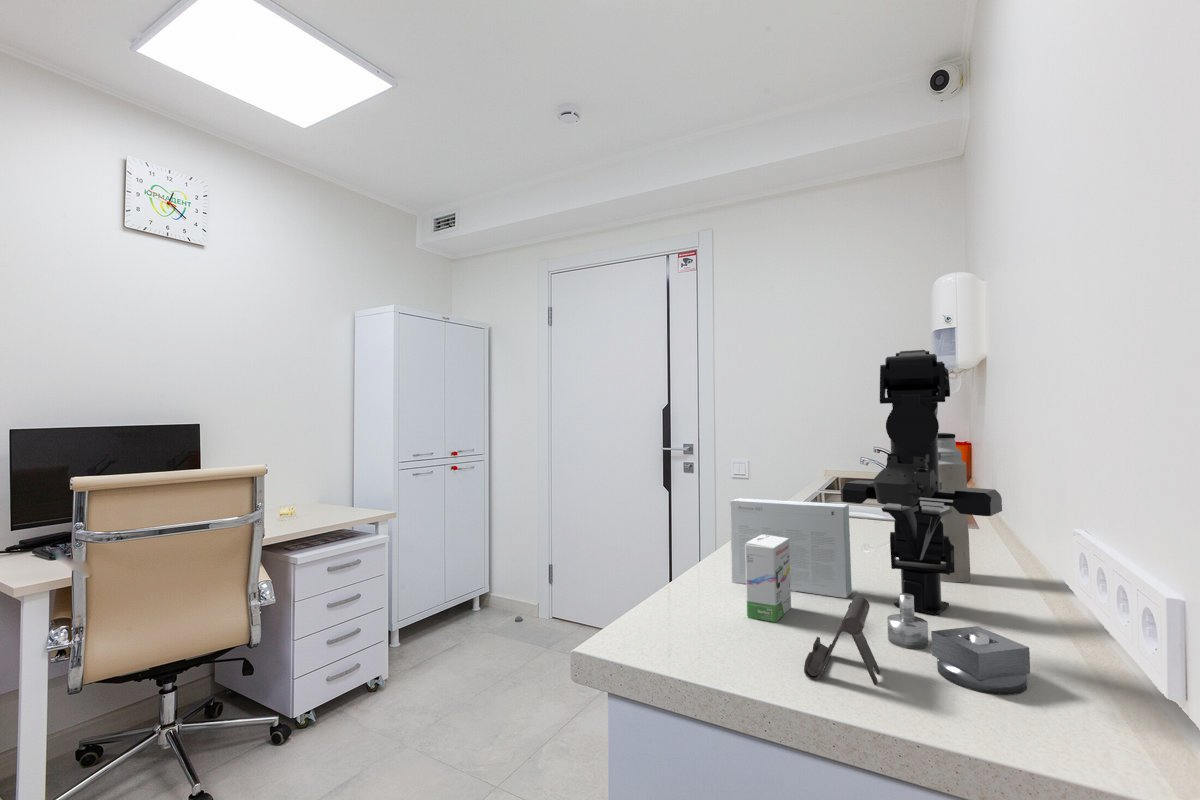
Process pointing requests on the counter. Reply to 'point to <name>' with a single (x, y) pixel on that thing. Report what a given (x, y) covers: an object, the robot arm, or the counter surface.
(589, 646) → the counter surface
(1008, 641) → the grey square ring block
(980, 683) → the hub
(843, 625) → the portable electronic device stand
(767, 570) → the ink box
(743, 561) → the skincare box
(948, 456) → the thermos bottle
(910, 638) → the threaded levelling foot
